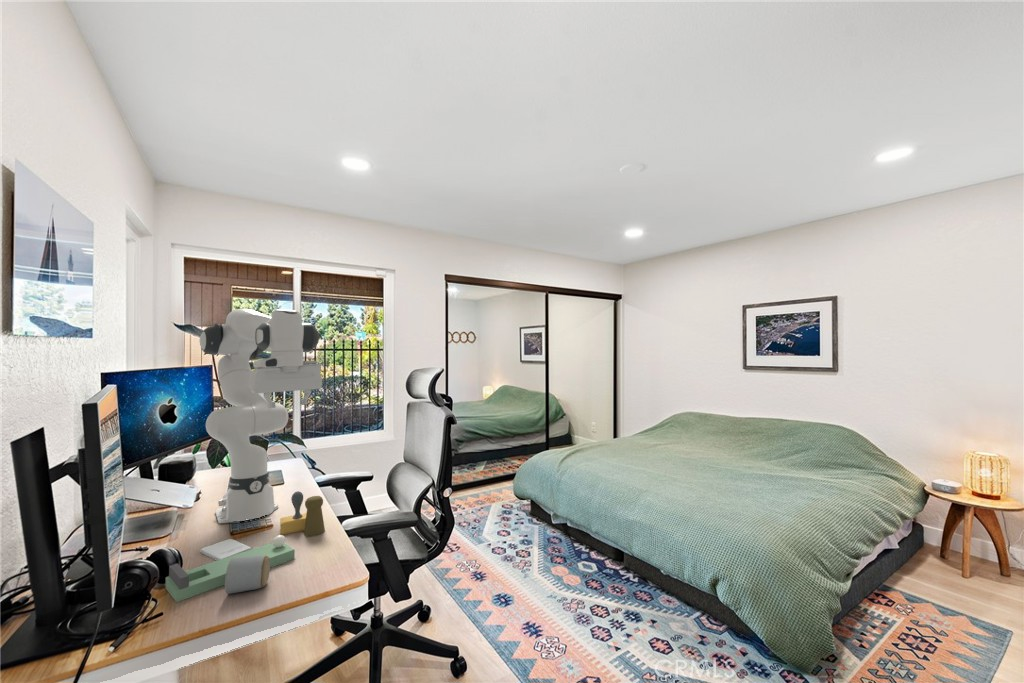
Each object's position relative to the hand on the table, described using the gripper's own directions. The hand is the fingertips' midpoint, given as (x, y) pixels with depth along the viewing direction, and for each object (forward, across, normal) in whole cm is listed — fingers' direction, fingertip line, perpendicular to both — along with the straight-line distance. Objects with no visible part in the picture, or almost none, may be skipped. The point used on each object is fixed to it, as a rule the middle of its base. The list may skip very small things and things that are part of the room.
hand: (288, 406), depth 130 cm
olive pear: (+41, -8, 0) cm, 41 cm away
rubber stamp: (+41, -6, -8) cm, 42 cm away
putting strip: (+41, +17, +8) cm, 45 cm away
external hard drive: (+41, +14, -8) cm, 44 cm away
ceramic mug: (+41, +18, +19) cm, 49 cm away
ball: (+38, +6, +8) cm, 40 cm away
